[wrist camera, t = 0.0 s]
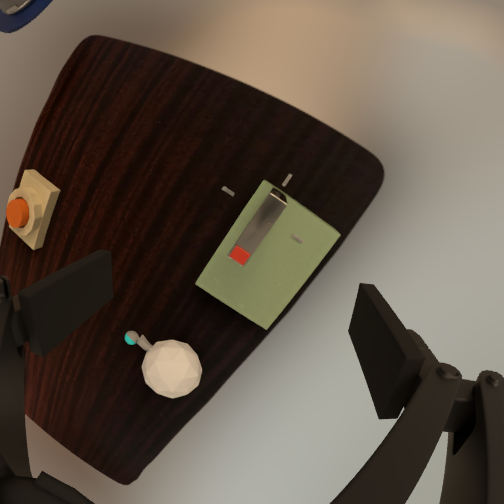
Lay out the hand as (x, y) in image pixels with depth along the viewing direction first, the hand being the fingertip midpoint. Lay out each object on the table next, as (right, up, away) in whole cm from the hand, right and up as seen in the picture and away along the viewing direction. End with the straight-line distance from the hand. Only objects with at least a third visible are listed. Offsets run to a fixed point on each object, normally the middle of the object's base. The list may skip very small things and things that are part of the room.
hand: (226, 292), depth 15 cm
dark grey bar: (+2, +6, +17) cm, 18 cm away
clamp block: (+2, +4, +21) cm, 21 cm away
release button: (-32, +8, +19) cm, 38 cm away
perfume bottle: (-11, -11, +26) cm, 30 cm away
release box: (-32, +9, +23) cm, 40 cm away
